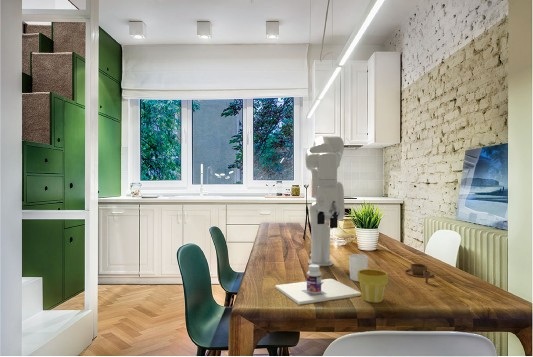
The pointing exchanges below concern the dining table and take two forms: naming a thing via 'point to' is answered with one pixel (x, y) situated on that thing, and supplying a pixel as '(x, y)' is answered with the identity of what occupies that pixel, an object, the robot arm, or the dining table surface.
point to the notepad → (328, 292)
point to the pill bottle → (314, 279)
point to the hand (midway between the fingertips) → (327, 225)
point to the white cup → (357, 265)
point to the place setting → (419, 271)
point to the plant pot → (372, 284)
